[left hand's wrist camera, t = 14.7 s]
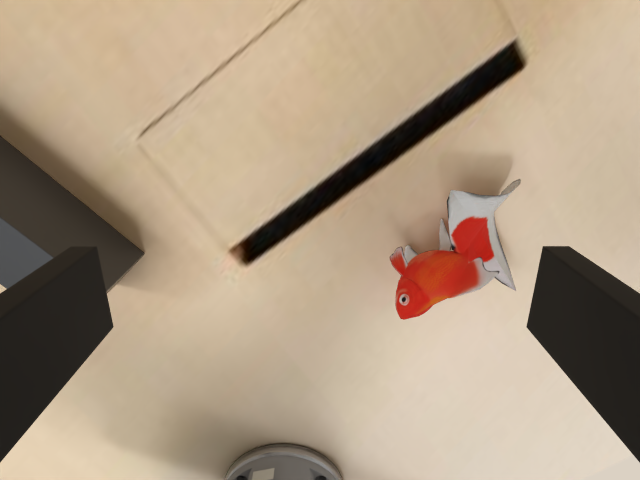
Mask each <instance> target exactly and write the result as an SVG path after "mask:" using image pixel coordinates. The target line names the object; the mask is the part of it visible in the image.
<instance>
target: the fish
mask: <svg viewBox="0 0 640 480" xmlns="http://www.w3.org/2000/svg"><path fill="white" fill-rule="evenodd" d="M520 181H521V180H520V179H518V180H516V181H514V182H512V183H511V184H510V185H509V186H508V187H507V188H506V189H504V190H503V191H502V193H501V195H497V196H488V195H477V194H473V193H468V192H462V191H455V190H451V192H450V194H449V197H448V200H447V208H448V222H449V233H450V237H449V235H448V233H447V230H446V228H445V225H444V222H443V219H441V220H440V231H439V239H440V247H439V250H431V251H427V252H424V253H421V254H419V255H418V254H417V253H416V252H415V251H414V250H413V249H412V248H411V247H410V246H409V245H407V246H406V247H405V254H404V255H403V249H402V247H399V248H397V249H396V250H395V252H394V253H393V254H392V255H391V256H390V261H391V263H392V265H393V267H394V268H395V269H396V270H397V271H398V272H399V274H400V275H401V278H400V280H399V282H398V287H397V291H396V299H395V301H396V310H397V312H398V315H399V317H400V318H401V319H403V320H404V319H408V318H412V317H417V316H420V315H422V314H424V313H425V312H427V311H428V310H429V309H430V308H431V307H432V306H433V305H434V304H436V303H438V302H440V301H442V300H445V299H447V298H452V297H456V296H460V295H464V294H467V293H470V292H473V291H476V290H479V289H481V288H482V287H483V286H485V285H486V284H488V283H489V282H490V281H491V280H492V279H493V278H494V277H495V278H496V279H497V280H498V281H500V282H501V283H503V284H504V285H506V286H508V287H510V288H512V289H513V290H515V291H516V288H515V285H514V282H513V279H512V275H511V272H510V269H509V266H508V263H507V260H506V257H505V255H504V252H503V249H502V246H501V243H500V240H499V236H498V233H497V229H496V226H495V219H494V211H495V210H496V209H497V208H498V207H499V206H500V204H501V203H502V202H503V201H504V200H505V199H506V198H507V197H508V196H509V195H510V194H511V192H512V191H513V190H514V189H515V188H516V187H517V186H518V185H519V184H520ZM450 239H451V240H450ZM451 245H452V250H454V251H450V250H451Z"/></svg>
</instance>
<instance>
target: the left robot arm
mask: <svg viewBox="0 0 640 480" xmlns="http://www.w3.org/2000/svg"><path fill="white" fill-rule="evenodd" d="M112 328H113V323H112V318H111V313H110V308H109V303H108V298H107V293H106V288H105V283H104V278H103V273H102V268H101V264H100V259H99V254H98V249H97V246H71V247H69V248H68V249H66V250H65V251H63V252H62V253H60V254H59V255H57V256H56V257H54V258H53V259H51V260H50V261H48V262H47V263H45V264H44V265H42V266H41V267H39V268H38V269H36V270H35V271H33V272H32V273H30V274H29V275H27V276H26V277H24V278H23V279H21V280H20V281H18V282H17V283H15V284H14V285H12V286H11V287H9V288H8V289H6V290H5V291H3V292H2V293H0V462H1V461H2V460H3V458H4V457H5V456H6V455H7V454H8V452H9V451H10V450H11V449H12V448H13V446H14V445H15V444H16V443H17V442H18V441H19V439H20V438H21V437H22V436H23V435H24V433H25V432H26V431H27V430H28V429H29V427H30V426H31V425H32V424H33V423H34V421H35V420H36V419H37V418H38V417H39V415H40V414H41V413H42V412H43V411H44V409H45V408H46V407H47V406H48V405H49V403H50V402H51V401H52V400H53V399H54V397H55V396H56V395H57V394H58V393H59V391H60V390H61V389H62V388H63V387H64V386H65V384H66V383H67V382H68V381H69V380H70V378H71V377H72V376H73V375H74V374H75V372H76V371H77V370H78V369H79V368H80V366H81V365H82V364H83V363H84V362H85V360H86V359H87V358H88V357H89V356H90V354H91V353H92V352H93V351H94V350H95V348H96V347H97V346H98V345H99V344H100V342H101V341H102V340H103V339H104V338H105V336H106V335H107V334H108V333H109V332H110V331H111V329H112ZM527 328H528V329H529V331H530V332H531V333H532V334H533V335H534V337H535V338H536V339H537V340H538V341H539V342H540V344H541V345H542V346H543V347H544V348H545V350H546V351H547V352H548V353H549V354H550V356H551V357H552V358H553V359H554V360H555V362H556V363H557V364H558V365H559V366H560V368H561V369H562V370H563V371H564V372H565V374H566V375H567V376H568V377H569V378H570V380H571V381H572V382H573V383H574V384H575V386H576V387H577V388H578V389H579V390H580V391H581V393H582V394H583V395H584V396H585V397H586V399H587V400H588V401H589V402H590V403H591V405H592V406H593V407H594V408H595V409H596V411H597V412H598V413H599V414H600V415H601V417H602V418H603V419H604V420H605V421H606V423H607V424H608V425H609V426H610V427H611V429H612V430H613V431H614V432H615V433H616V435H617V436H618V437H619V438H620V439H621V441H622V442H623V443H624V444H625V445H626V446H627V448H628V449H629V450H630V451H631V452H632V454H633V455H634V456H635V457H636V458H637V460H638V461H639V462H640V293H638V292H637V291H635V290H634V289H632V288H631V287H629V286H628V285H626V284H625V283H623V282H622V281H620V280H619V279H617V278H616V277H614V276H613V275H611V274H610V273H608V272H607V271H605V270H604V269H602V268H601V267H599V266H598V265H596V264H595V263H593V262H592V261H590V260H589V259H587V258H586V257H584V256H583V255H581V254H580V253H578V252H577V251H575V250H574V249H572V248H571V247H569V246H543V249H542V254H541V259H540V264H539V268H538V273H537V278H536V283H535V288H534V293H533V298H532V303H531V308H530V313H529V318H528V323H527ZM225 480H342V477H341V475H340V473H339V471H338V469H337V468H336V467H335V465H334V464H333V463H332V462H331V461H330V460H328V459H327V458H326V457H325V456H323V455H322V454H320V453H318V452H316V451H314V450H312V449H309V448H306V447H302V446H298V445H291V444H274V445H267V446H263V447H259V448H256V449H253V450H251V451H249V452H247V453H245V454H244V455H242V456H241V457H240V458H238V459H237V460H236V461H235V462H234V463H233V464H232V466H231V467H230V469H229V470H228V472H227V475H226V478H225Z"/></svg>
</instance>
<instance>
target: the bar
mask: <svg viewBox="0 0 640 480" xmlns="http://www.w3.org/2000/svg"><path fill="white" fill-rule="evenodd" d="M71 246H97V249H98V254H99V259H100V264H101V268H102V273H103V278H104V283H105V288H106V293H108V292H109V291H110V290H111V289H112V288H113V287H114V286H115V285H116V284H117V283H118V282H119V281H120V280H121V279H122V278H123V277H124V275H125V274H126V273H127V272H128V271H129V270H130V269H131V268H132V267H133V266H134V265H135V264H136V263H137V262H138V260H139V259H140V258H141V257H142V256H143V255H144V252H142V251H141V250H140V249H139V248H137V247H136V246H135V245H134V244H132V243H131V242H130V241H129V240H128V239H126V238H125V237H124V236H123V235H121V234H120V233H119V232H118V231H116V230H115V229H114V228H113V227H112V226H110V225H109V224H108V223H107V222H105V221H104V220H103V219H102V218H100V217H99V216H98V215H97V214H96V213H94V212H93V211H92V210H91V209H89V208H88V207H87V206H86V205H84V204H83V203H82V202H81V201H80V200H78V199H77V198H76V197H75V196H73V195H72V194H71V193H70V192H68V191H67V190H66V189H65V188H64V187H62V186H61V185H60V184H59V183H57V182H56V181H55V180H54V179H52V178H51V177H50V176H49V175H48V174H46V173H45V172H44V171H43V170H41V169H40V168H39V167H38V166H36V165H35V164H34V163H33V162H31V161H30V160H29V159H28V158H27V157H25V156H24V155H23V154H22V153H20V152H19V151H18V150H17V149H15V148H14V147H13V146H12V145H11V144H9V143H8V142H7V141H6V140H4V139H3V138H2V137H1V136H0V284H1V285H2V286H4V287H5V288H7V289H8V288H9V287H11V286H12V285H14V284H15V283H17V282H18V281H20V280H21V279H23V278H24V277H26V276H27V275H29V274H30V273H32V272H33V271H35V270H36V269H38V268H39V267H41V266H42V265H44V264H45V263H47V262H48V261H50V260H51V259H53V258H54V257H56V256H57V255H59V254H60V253H62V252H63V251H65V250H66V249H68V248H69V247H71Z"/></svg>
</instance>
